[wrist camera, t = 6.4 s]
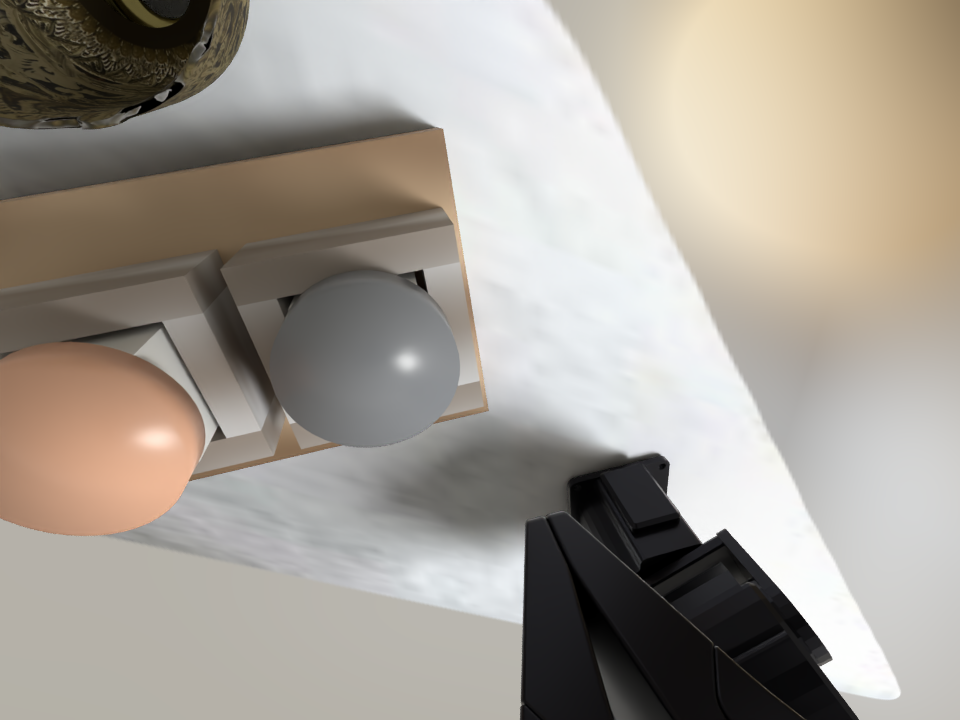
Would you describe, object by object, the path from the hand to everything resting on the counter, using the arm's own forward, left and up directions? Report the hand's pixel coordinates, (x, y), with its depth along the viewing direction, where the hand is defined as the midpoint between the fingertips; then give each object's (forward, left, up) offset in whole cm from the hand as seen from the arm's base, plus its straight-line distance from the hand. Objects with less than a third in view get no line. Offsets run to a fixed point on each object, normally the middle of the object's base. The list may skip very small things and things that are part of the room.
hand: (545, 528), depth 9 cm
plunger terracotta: (+1, +12, -9) cm, 15 cm away
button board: (+1, +7, -13) cm, 15 cm away
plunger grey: (+1, +4, -11) cm, 11 cm away
